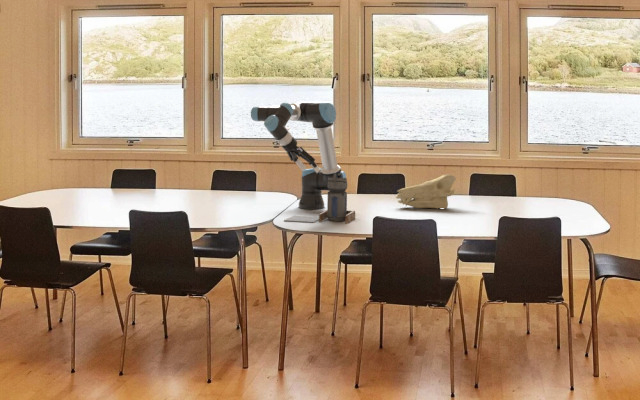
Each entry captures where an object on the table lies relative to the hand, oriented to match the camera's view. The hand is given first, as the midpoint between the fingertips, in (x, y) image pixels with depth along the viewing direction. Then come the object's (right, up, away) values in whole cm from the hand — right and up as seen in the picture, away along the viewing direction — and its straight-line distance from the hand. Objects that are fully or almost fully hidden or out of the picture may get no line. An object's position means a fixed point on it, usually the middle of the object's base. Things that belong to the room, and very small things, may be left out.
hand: (311, 170), depth 390 cm
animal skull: (+67, -21, +56) cm, 89 cm away
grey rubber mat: (-4, -26, +5) cm, 27 cm away
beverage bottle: (+14, -26, +5) cm, 30 cm away
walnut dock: (+14, -26, +5) cm, 30 cm away
